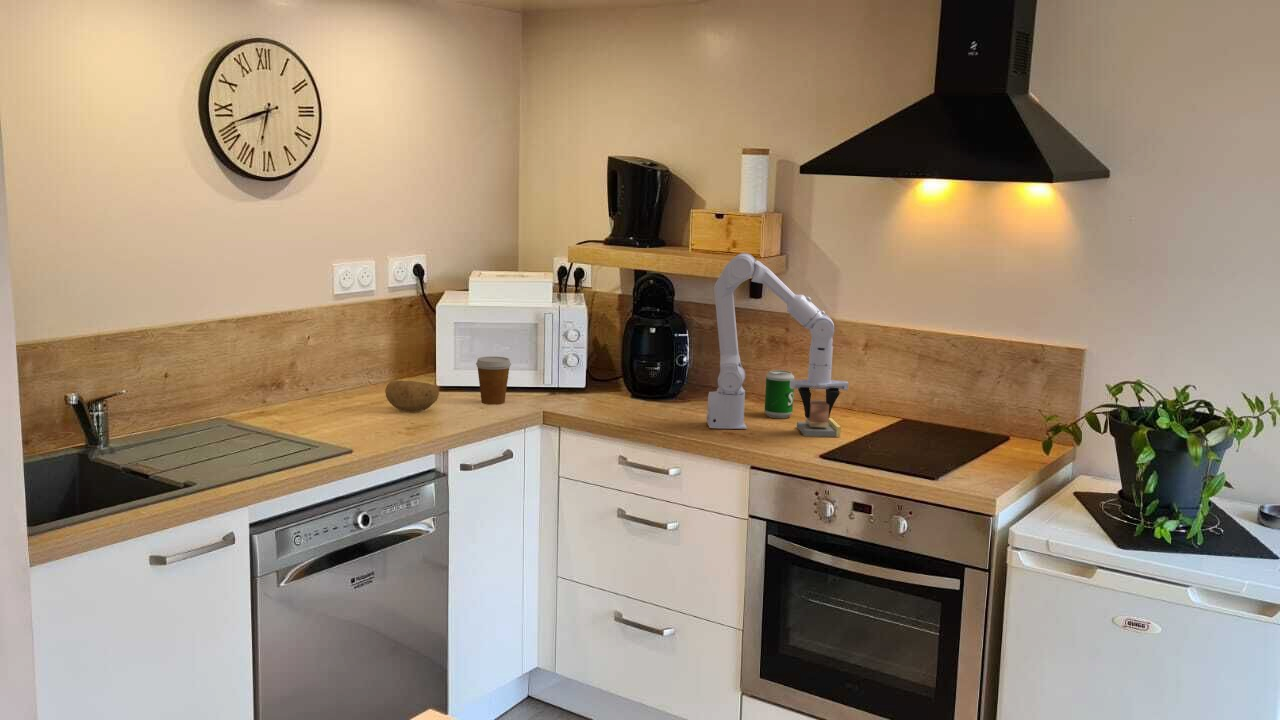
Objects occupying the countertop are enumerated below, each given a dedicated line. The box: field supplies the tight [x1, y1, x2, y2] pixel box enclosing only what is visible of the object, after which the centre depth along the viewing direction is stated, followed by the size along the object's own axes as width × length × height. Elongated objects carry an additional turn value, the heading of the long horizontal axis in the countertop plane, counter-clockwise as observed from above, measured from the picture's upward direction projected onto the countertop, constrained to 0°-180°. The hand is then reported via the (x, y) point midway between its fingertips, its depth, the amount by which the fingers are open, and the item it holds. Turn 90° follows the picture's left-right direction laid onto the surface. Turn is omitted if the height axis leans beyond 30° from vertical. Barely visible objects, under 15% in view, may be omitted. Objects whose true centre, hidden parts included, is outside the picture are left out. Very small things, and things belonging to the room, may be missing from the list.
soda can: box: [764, 369, 795, 419], centre depth 301 cm, size 8×8×12 cm
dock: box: [796, 417, 842, 438], centre depth 285 cm, size 9×10×3 cm
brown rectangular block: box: [804, 399, 830, 427], centre depth 284 cm, size 4×6×6 cm
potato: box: [384, 380, 440, 413], centre depth 293 cm, size 10×14×8 cm
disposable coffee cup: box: [475, 356, 512, 405], centre depth 306 cm, size 10×10×12 cm
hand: (817, 417), depth 284 cm, fingers closed on brown rectangular block, 4 cm apart
